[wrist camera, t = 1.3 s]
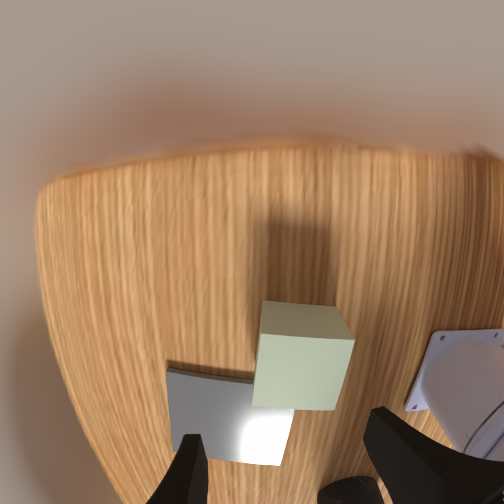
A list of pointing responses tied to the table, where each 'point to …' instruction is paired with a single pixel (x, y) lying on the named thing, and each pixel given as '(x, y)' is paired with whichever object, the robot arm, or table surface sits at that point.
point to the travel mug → (351, 492)
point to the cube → (300, 356)
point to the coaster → (226, 418)
